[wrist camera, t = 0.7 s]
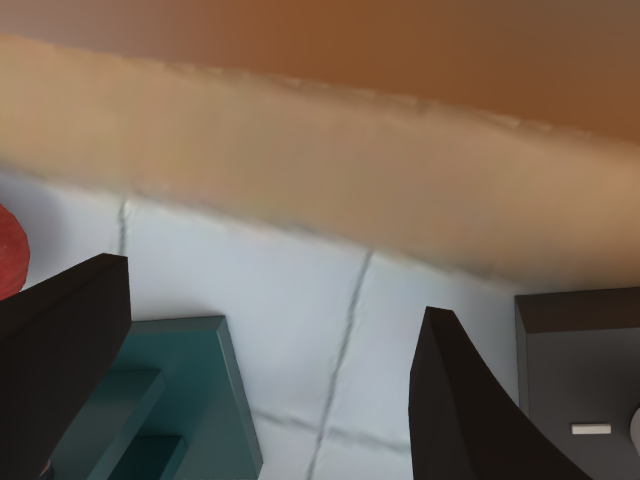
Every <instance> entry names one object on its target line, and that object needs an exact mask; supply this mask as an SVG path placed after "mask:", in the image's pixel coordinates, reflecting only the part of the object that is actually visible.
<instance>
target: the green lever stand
mask: <svg viewBox="0 0 640 480" xmlns="http://www.w3.org/2000/svg"><path fill="white" fill-rule="evenodd" d="M131 323H132V326H131V328H130V330H129V332H128V334H127V336H126V338H125V340H124V343H123V345H122V347H121V349H120V351H119V352H118V354H117V356H116V358H115V360H114V362H113V363H112V365H111V366H110V368H109V369H108V371H107V372H106V374H105V375H104V377H103V378H102V380H101V381H100V383H99V384H98V385H97V387H96V388H95V390H94V391H93V393H92V394H91V396H90V397H89V398H88V400H87V401H86V403H85V404H84V406H83V407H82V409H81V410H80V411H79V413H78V414H77V416H76V417H75V419H74V420H73V422H72V423H71V424H70V426H69V427H68V429H67V430H66V432H65V433H64V435H63V436H62V438H61V440H60V441H59V443H58V444H57V446H56V448H55V449H54V451H53V453H52V455H51V456H50V458H49V460H48V462H47V464H46V466H45V467H44V469H43V471H42V473H41V475H40V477H39V479H38V480H257V479H258V477H259V474H260V471H261V468H262V465H263V461H262V457H261V453H260V450H259V446H258V442H257V438H256V434H255V430H254V426H253V423H252V419H251V415H250V411H249V407H248V403H247V399H246V396H245V392H244V388H243V384H242V380H241V376H240V372H239V369H238V365H237V361H236V357H235V353H234V349H233V345H232V342H231V338H230V334H229V330H228V326H227V322H226V318H225V316H217V317H202V318H187V319H173V320H158V321H143V322H131Z"/></svg>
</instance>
